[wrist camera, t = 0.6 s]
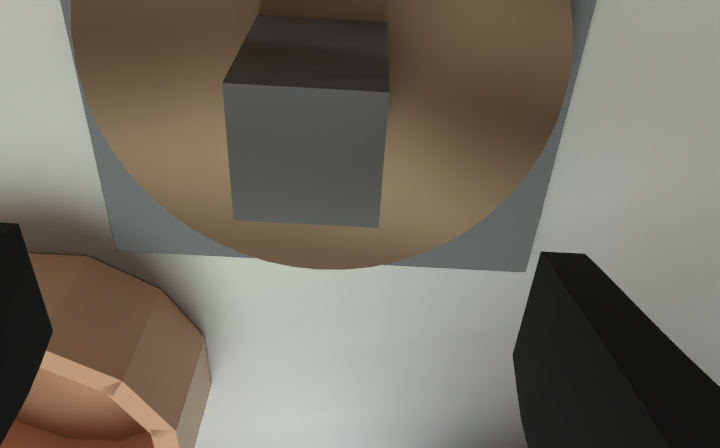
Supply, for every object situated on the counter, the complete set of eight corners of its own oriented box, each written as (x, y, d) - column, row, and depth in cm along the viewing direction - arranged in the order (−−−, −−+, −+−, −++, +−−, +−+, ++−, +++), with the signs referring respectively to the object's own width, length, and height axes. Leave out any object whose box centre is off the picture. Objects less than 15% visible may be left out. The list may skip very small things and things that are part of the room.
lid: (512, 259, 20) (547, 384, 16) (129, 238, 20) (63, 359, 16) (623, -203, 13) (738, -194, 9) (32, -238, 13) (-132, -246, 9)
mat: (522, 262, 20) (525, 272, 20) (121, 241, 20) (115, 250, 20) (647, -232, 13) (656, -232, 12) (11, -270, 13) (0, -272, 12)
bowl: (218, 441, 26) (196, 534, 23) (-13, 429, 26) (-68, 521, 23) (194, 261, 21) (160, 352, 17) (-99, 246, 21) (-188, 333, 17)
